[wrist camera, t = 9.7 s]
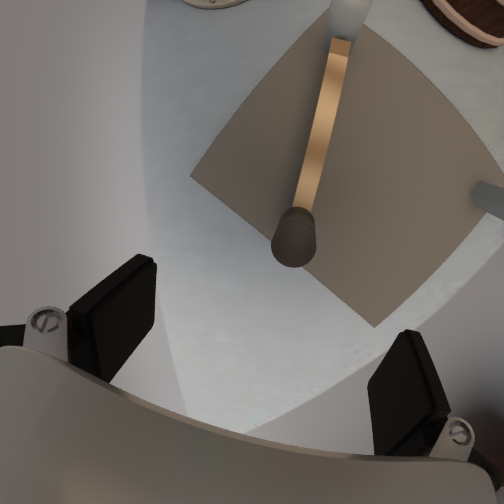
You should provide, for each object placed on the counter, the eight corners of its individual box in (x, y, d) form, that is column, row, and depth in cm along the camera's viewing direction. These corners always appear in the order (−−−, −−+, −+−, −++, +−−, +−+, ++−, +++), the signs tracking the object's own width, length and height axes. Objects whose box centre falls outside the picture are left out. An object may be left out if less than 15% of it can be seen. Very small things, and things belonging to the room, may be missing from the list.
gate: (321, 58, 24) (327, 6, 13) (348, 65, 24) (372, 18, 12) (279, 229, 32) (261, 279, 20) (306, 236, 31) (302, 291, 20)
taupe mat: (191, 175, 32) (189, 175, 32) (333, 5, 22) (333, 3, 21) (373, 326, 35) (374, 327, 34) (506, 181, 24) (508, 182, 24)
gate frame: (319, 50, 25) (323, -4, 13) (334, 35, 23) (345, -23, 12) (476, 208, 27) (540, 243, 15) (488, 193, 26) (553, 221, 14)
